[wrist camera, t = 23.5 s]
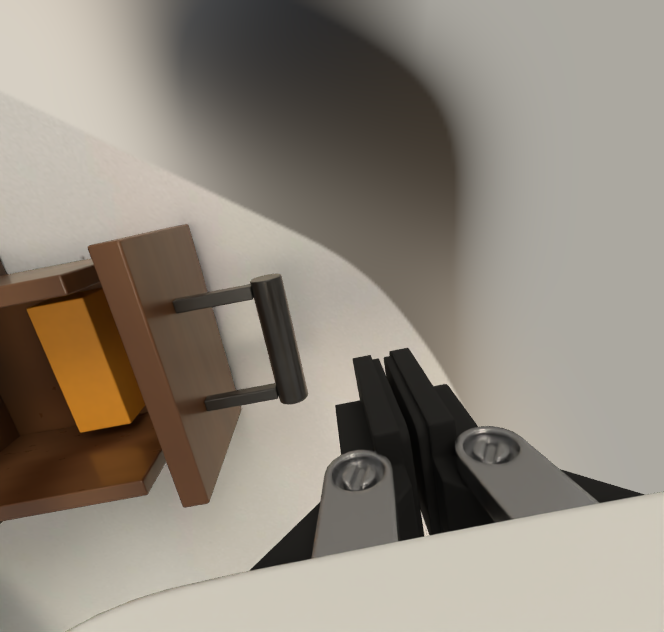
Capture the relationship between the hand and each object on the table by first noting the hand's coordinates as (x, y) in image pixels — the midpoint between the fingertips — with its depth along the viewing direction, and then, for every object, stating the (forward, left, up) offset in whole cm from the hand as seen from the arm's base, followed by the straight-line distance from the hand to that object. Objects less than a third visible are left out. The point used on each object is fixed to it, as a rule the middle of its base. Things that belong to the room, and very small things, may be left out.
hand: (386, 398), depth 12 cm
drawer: (+12, 0, -12) cm, 17 cm away
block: (+14, 0, -11) cm, 18 cm away
